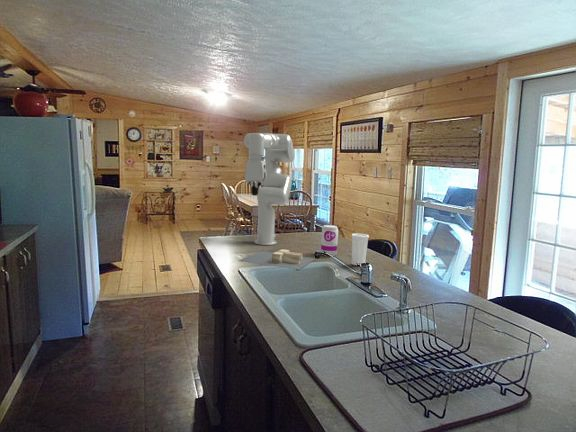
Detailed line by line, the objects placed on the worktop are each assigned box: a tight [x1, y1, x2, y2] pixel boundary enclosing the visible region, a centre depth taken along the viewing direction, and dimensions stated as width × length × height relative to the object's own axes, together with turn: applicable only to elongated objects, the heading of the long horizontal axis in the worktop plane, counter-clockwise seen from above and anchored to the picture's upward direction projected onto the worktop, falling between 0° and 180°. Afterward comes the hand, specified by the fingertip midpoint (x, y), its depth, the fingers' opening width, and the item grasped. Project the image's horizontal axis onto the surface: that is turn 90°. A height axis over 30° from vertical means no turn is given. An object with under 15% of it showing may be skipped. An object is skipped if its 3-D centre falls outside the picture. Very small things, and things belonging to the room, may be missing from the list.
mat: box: [238, 250, 317, 271], centre depth 206 cm, size 24×30×1 cm
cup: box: [351, 233, 370, 266], centre depth 203 cm, size 8×8×14 cm
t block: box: [272, 248, 303, 264], centre depth 203 cm, size 12×12×4 cm
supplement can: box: [320, 224, 339, 257], centre depth 221 cm, size 8×8×15 cm
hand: (254, 195), depth 218 cm, fingers closed
